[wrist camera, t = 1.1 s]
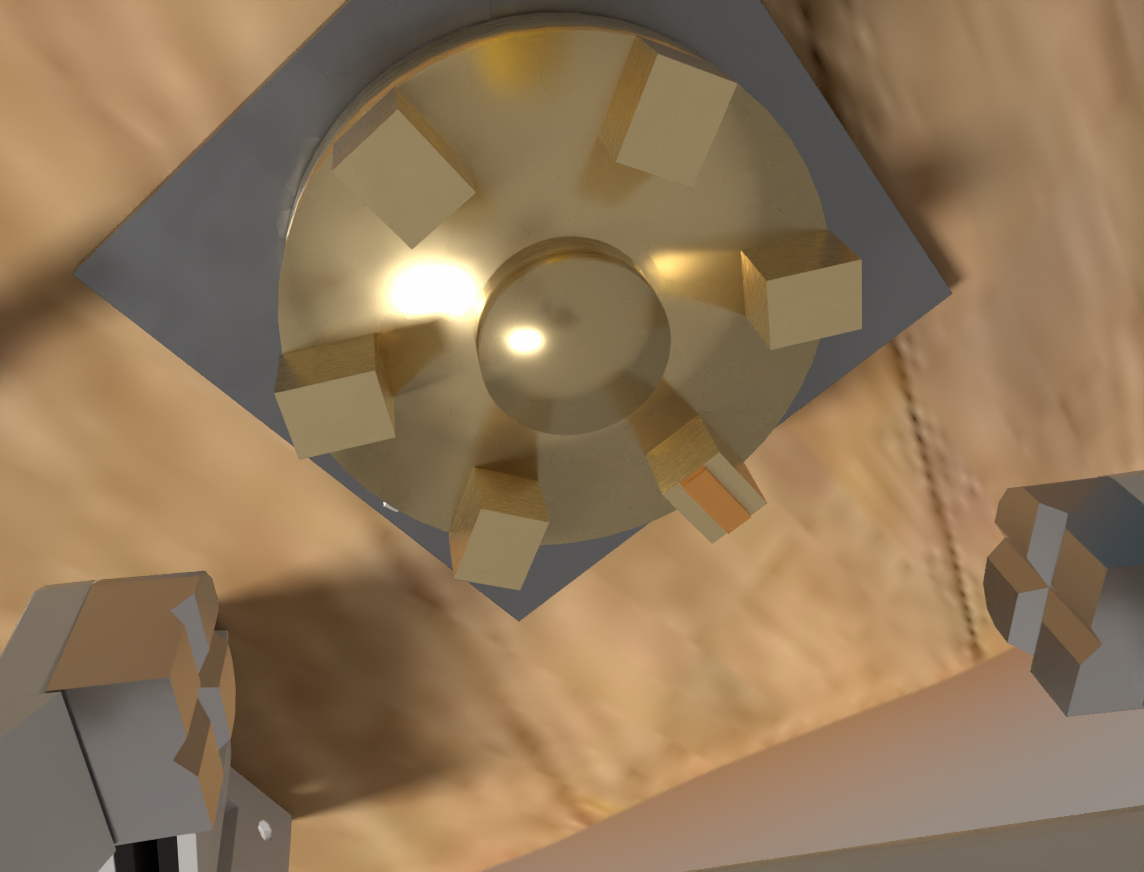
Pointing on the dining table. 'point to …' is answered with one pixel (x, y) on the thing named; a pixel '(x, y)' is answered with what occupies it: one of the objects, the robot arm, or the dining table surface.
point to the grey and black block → (219, 834)
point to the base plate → (310, 108)
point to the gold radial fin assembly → (554, 288)
